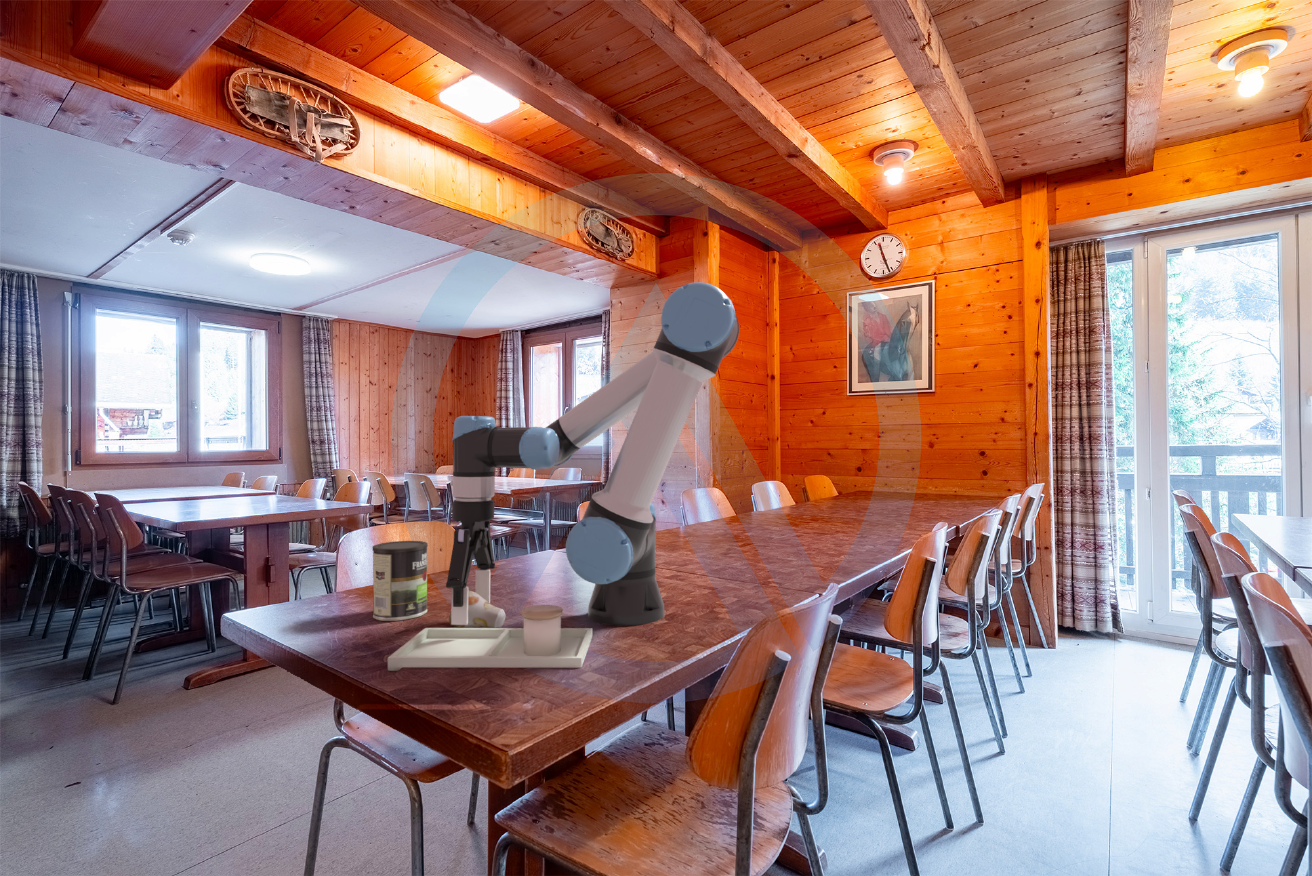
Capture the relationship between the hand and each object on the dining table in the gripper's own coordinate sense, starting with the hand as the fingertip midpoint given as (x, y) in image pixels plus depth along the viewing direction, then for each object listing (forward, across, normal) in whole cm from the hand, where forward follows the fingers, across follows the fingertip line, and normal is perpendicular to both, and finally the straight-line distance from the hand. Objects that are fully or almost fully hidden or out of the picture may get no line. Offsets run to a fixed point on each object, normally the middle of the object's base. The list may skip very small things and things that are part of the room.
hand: (471, 613), depth 112 cm
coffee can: (+4, -10, -18) cm, 20 cm away
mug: (+3, -1, +1) cm, 4 cm away
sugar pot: (+2, +13, +16) cm, 21 cm away
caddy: (+3, +13, +8) cm, 16 cm away
